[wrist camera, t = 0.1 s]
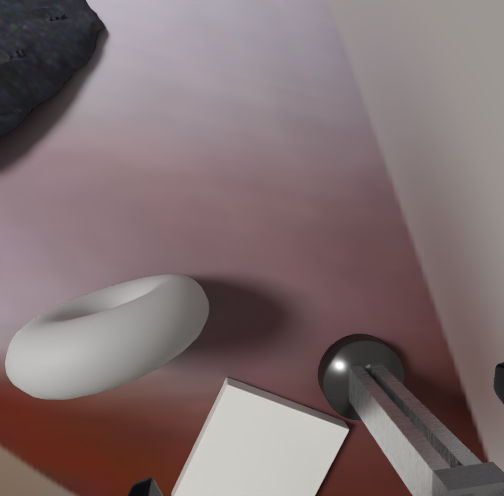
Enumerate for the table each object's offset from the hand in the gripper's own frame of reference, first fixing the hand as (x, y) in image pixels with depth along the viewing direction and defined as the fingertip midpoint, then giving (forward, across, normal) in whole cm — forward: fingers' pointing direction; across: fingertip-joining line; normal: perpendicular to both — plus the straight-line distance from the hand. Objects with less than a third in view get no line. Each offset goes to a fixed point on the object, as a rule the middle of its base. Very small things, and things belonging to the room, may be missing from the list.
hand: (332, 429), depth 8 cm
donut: (+16, +8, +3) cm, 18 cm away
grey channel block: (+13, -6, +13) cm, 19 cm away
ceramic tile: (+12, +3, +17) cm, 21 cm away
